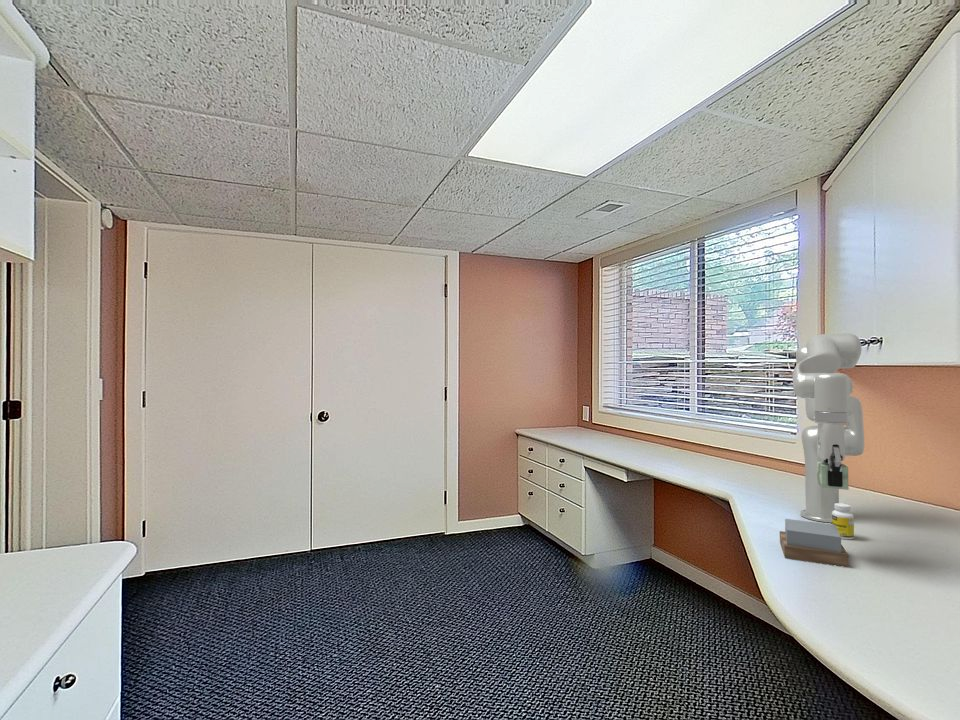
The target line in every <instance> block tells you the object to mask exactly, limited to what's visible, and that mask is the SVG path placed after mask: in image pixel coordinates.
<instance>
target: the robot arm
mask: <svg viewBox="0 0 960 720" xmlns="http://www.w3.org/2000/svg"><path fill="white" fill-rule="evenodd" d="M796 349H797V350H796V351H795V361H796V365H795V366H794V369H793V372H792V388H793V393H794V394H795V395H796V396H797V397H799V398H800V399H804V400H805V403H804V404H805V414H806V417H807V418H808V420H810V421H811V422H814V423H815V424H817V425H811V426H810V425H809V426H807V427H805V428H803V429H802V432H801V437H800V438H801V443H802V447H803V448H802V449H803V454H804V455H803V456H804V477H805V479H804V481H805V482H804V483H805V487H804V488H805V489H804V490H805V509H802V510H800V516H802V517H803V518H804V519H808V520H812V521H814V522H815V521H816V522H820V523H828V524H829V523H830V524H832V512H833V511H834V510H835V508H834V504H835V503H840V494H839V493H840V492H839V490H840V489H832V488H822V487H821V486H820V485H819V484H818V483H817V462H825V463H828V465H829V471H828V485H829V486H835V487H842V486H843V480H842V465H841V464H842V462H843V461H845V458H846V457H845V456H849V457H850V456H851V457H857V456H861V455H862V454H863V453H864V451H865V431H864V430H865V429H864V427H865V426H864V415H863V407H862V403H861V401H860V399H859V398H857V397H856V396H853V395H851V394H852V393H853V389H854V386H853V380H852V379H851V378H850V377H849V376H848V375H847V374H845V373H841V372H837V371H839V369H840V370H841V369H853V368H854V367H856V366H857V364H858V361H859V360H860V357H861V355H862V342H861V340H860V338H859V336H857V335H855V334H853V333H851V332H850V333H822V334H815V335H813V336H811V337H810V338H809V339H808V340H807V342H806V345H803V346H799V348H796Z"/></svg>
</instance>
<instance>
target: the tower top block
mask: <svg viewBox="0 0 960 720" xmlns="http://www.w3.org/2000/svg"><path fill="white" fill-rule="evenodd" d="M784 525H785V526H784V527H785V528H784V529H785V531H784V532H785V533H786V541H787V545H792V546H798V547H805V548H812V549H819V550H825V551H832V552H839V553H841V544H842V539H841V536H840V534H839V532H838V530H837V528H836V525H832V523H830V524H829V523H825V522H817V521H816V522H815V521H806V520H798V519H792V518H784Z"/></svg>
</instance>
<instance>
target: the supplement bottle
mask: <svg viewBox="0 0 960 720" xmlns="http://www.w3.org/2000/svg"><path fill="white" fill-rule="evenodd" d="M851 507H852V506H851V505H850V504H846V503H841V502H839V503H835V504H834V508H835V510H834V511H833V512H832V523H831V524H832V525H836V528H837V530H838V532H839V534H840V536H841V540H845V541H847V540H848V541H850V540H853V539H854V538H855V527H854V526H855V520H854V519H855V518H854V517H855V516H854V514H853V513H852V512H851V509H852V508H851Z"/></svg>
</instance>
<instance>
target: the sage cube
mask: <svg viewBox="0 0 960 720" xmlns="http://www.w3.org/2000/svg"><path fill="white" fill-rule="evenodd" d="M841 465H842V480H843V486H842V487H835V486H829V485H828V471H829V465H828V463H825V462H817V483H818V484H819V485H820V486H821V487H822V488H832V489H839V490H845V491H847V490H848V491H849V490H850V489H849V484H850V483H849V467H848V466H847V465H845V464H844V463H841Z"/></svg>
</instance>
